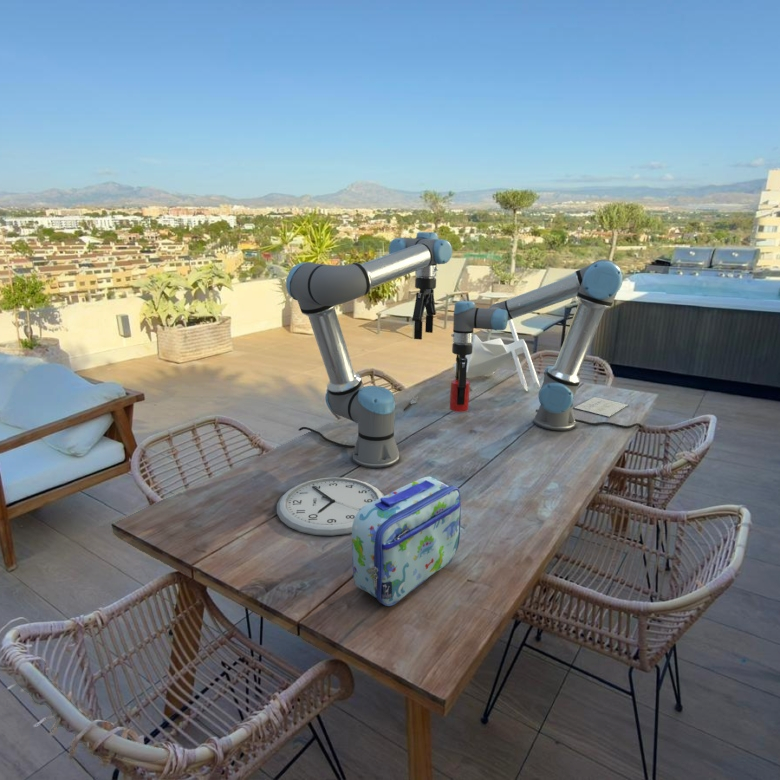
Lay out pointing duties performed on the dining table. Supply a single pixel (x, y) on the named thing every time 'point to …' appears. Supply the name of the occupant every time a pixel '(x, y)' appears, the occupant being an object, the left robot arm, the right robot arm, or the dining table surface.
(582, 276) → the right robot arm
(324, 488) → the wall clock
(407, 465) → the dining table surface
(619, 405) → the invitation card
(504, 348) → the white plastic object
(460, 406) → the canister
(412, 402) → the fork
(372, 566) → the lunch box
